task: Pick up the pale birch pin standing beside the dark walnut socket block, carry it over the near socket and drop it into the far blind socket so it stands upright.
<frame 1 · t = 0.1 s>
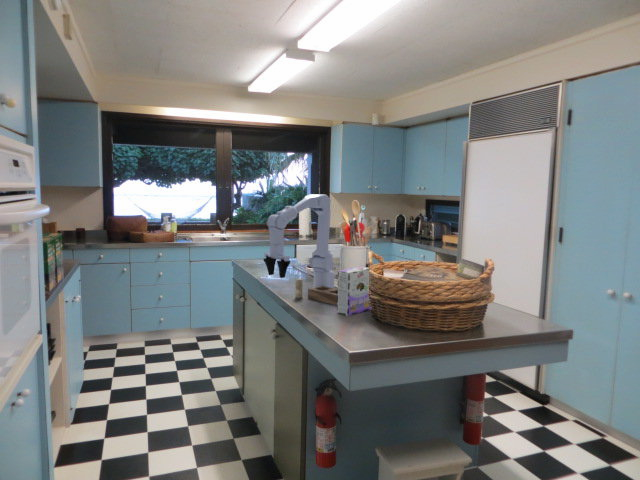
hand: (276, 276, 192), 10 cm above the worktop, fingers open, 7 cm apart
pin: (298, 297, 197), on the worktop
candy box: (354, 311, 177), on the worktop
socket block: (328, 299, 194), on the worktop
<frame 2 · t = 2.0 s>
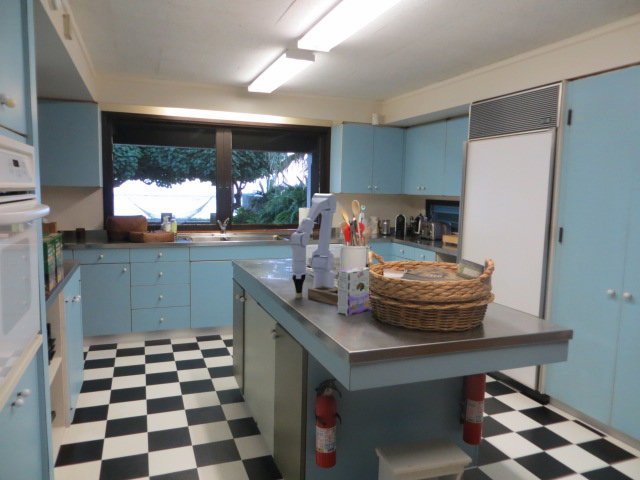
hand: (298, 292, 196), 2 cm above the worktop, fingers closed on pin, 3 cm apart
pin: (298, 297, 197), on the worktop, touching gripper
everything else where it was.
when the fingers open (5 cm above the worktop, at t = 6.0 s): pin drops 1 cm, resting on socket block.
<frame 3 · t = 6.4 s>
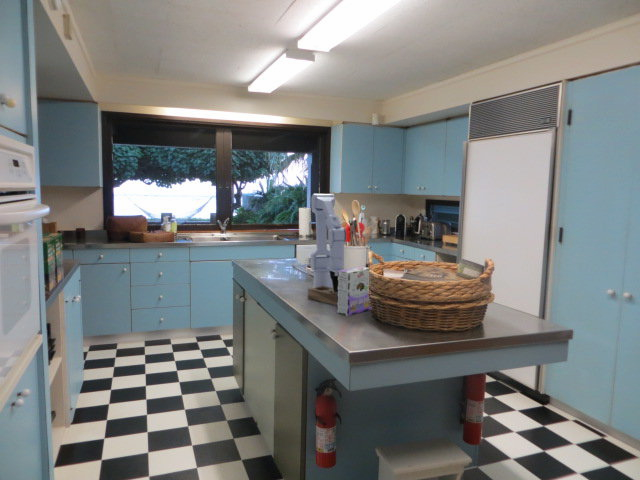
hand: (336, 289, 191), 5 cm above the worktop, fingers open, 7 cm apart
pin: (335, 298, 191), point 1 cm above the worktop, touching socket block
everything else where it was.
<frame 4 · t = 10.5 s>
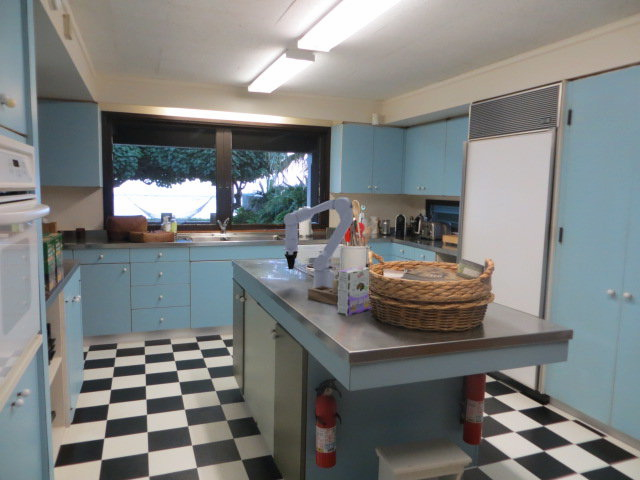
hand: (291, 267, 215), 9 cm above the worktop, fingers open, 7 cm apart
nothing on the worktop moved.
at the end: pin 0.1 cm from the target spot on the socket block, point 1.0 cm above the socket block's base; pin tilted 0°; the gripper is holding nothing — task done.
